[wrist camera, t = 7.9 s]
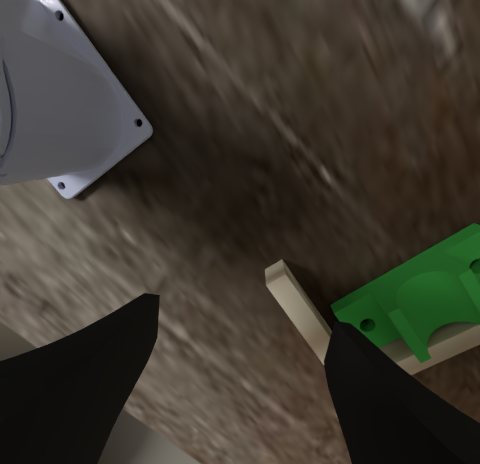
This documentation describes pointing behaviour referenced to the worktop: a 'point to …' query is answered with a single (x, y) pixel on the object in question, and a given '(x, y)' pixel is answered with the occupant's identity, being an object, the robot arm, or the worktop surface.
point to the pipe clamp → (419, 295)
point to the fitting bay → (439, 347)
